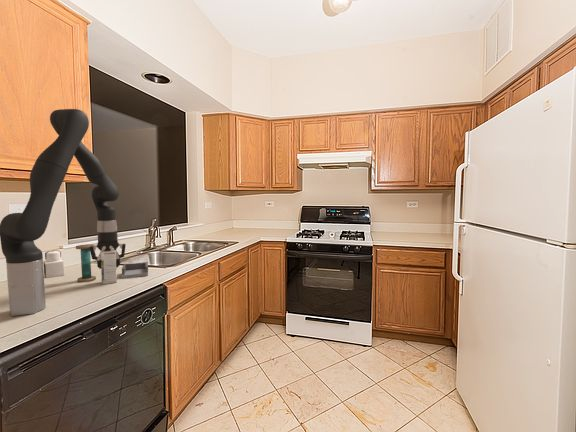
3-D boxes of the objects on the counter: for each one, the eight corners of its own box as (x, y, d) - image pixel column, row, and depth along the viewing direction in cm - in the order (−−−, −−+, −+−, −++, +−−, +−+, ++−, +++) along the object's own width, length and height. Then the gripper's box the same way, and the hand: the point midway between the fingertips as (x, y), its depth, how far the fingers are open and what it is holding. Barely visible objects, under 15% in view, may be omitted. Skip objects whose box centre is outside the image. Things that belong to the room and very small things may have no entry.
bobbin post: (94, 281, 134) (92, 246, 133) (75, 283, 131) (74, 247, 130) (97, 277, 141) (95, 243, 139) (79, 278, 138) (77, 245, 137)
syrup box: (102, 281, 134) (100, 249, 133) (117, 279, 137) (115, 248, 136) (101, 284, 129) (100, 251, 128) (117, 282, 132) (115, 250, 131)
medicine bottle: (44, 275, 144) (42, 251, 143) (62, 272, 149) (60, 249, 148) (45, 278, 139) (44, 253, 138) (64, 275, 144) (63, 251, 143)
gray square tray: (147, 276, 143) (147, 266, 142) (121, 278, 138) (121, 269, 138) (148, 270, 153) (147, 262, 152) (124, 273, 148) (123, 264, 148)
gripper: (86, 232, 125) (88, 271, 126) (125, 230, 131) (126, 267, 132) (89, 230, 132) (91, 267, 133) (126, 228, 138) (127, 264, 139)
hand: (109, 267), depth 133 cm, fingers closed on syrup box, 6 cm apart
